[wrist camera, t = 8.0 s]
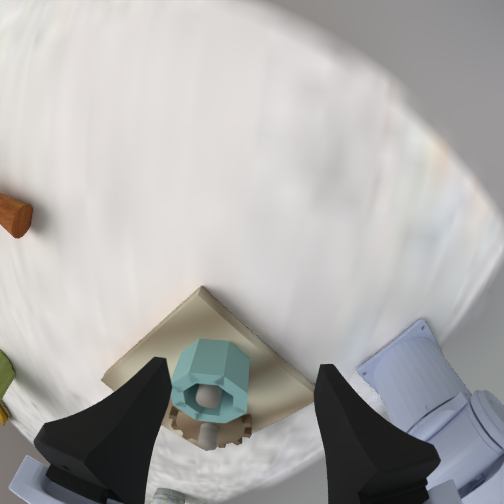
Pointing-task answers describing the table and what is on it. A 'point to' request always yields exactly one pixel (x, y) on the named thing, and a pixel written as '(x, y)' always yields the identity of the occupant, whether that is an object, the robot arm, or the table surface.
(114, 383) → the gear board
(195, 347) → the teal faceted ring
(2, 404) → the toy sandwich meal
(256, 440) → the table surface
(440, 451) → the robot arm
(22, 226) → the kendama
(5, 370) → the plant pot
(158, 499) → the camera lens
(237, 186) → the table surface
